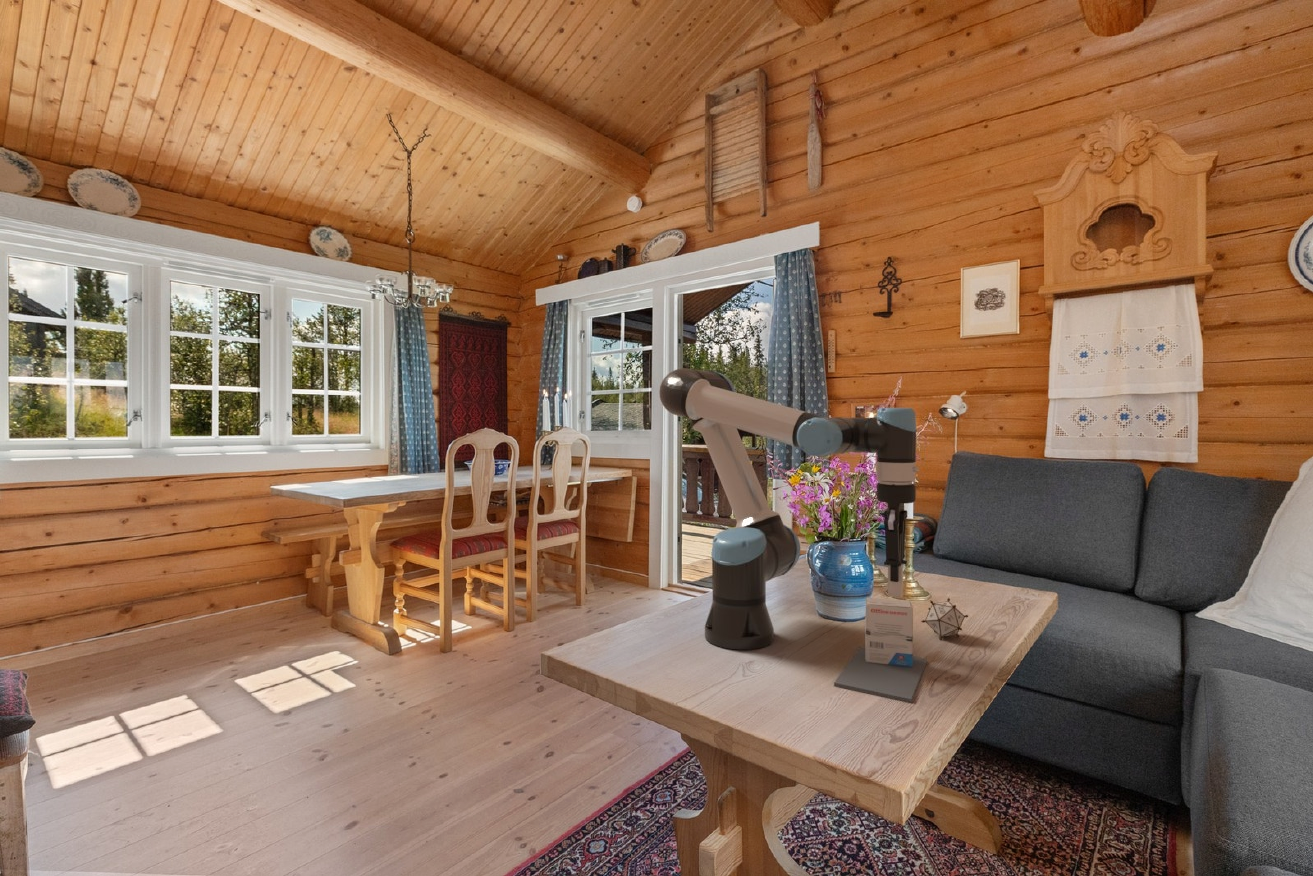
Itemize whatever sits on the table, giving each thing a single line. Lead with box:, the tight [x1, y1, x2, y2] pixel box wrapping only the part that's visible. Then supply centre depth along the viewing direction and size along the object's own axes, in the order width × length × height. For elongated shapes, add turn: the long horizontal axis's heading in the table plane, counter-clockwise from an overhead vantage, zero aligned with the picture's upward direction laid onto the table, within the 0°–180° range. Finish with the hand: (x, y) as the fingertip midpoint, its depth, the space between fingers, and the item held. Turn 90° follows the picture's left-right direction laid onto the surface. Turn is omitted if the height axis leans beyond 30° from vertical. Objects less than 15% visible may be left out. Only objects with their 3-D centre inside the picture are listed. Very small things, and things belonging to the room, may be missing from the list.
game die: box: [920, 597, 969, 641], centre depth 134 cm, size 9×8×10 cm
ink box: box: [864, 597, 914, 667], centre depth 119 cm, size 9×5×12 cm, turn 71°
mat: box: [833, 646, 928, 704], centre depth 115 cm, size 13×20×1 cm, turn 149°
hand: (895, 595), depth 126 cm, fingers closed
